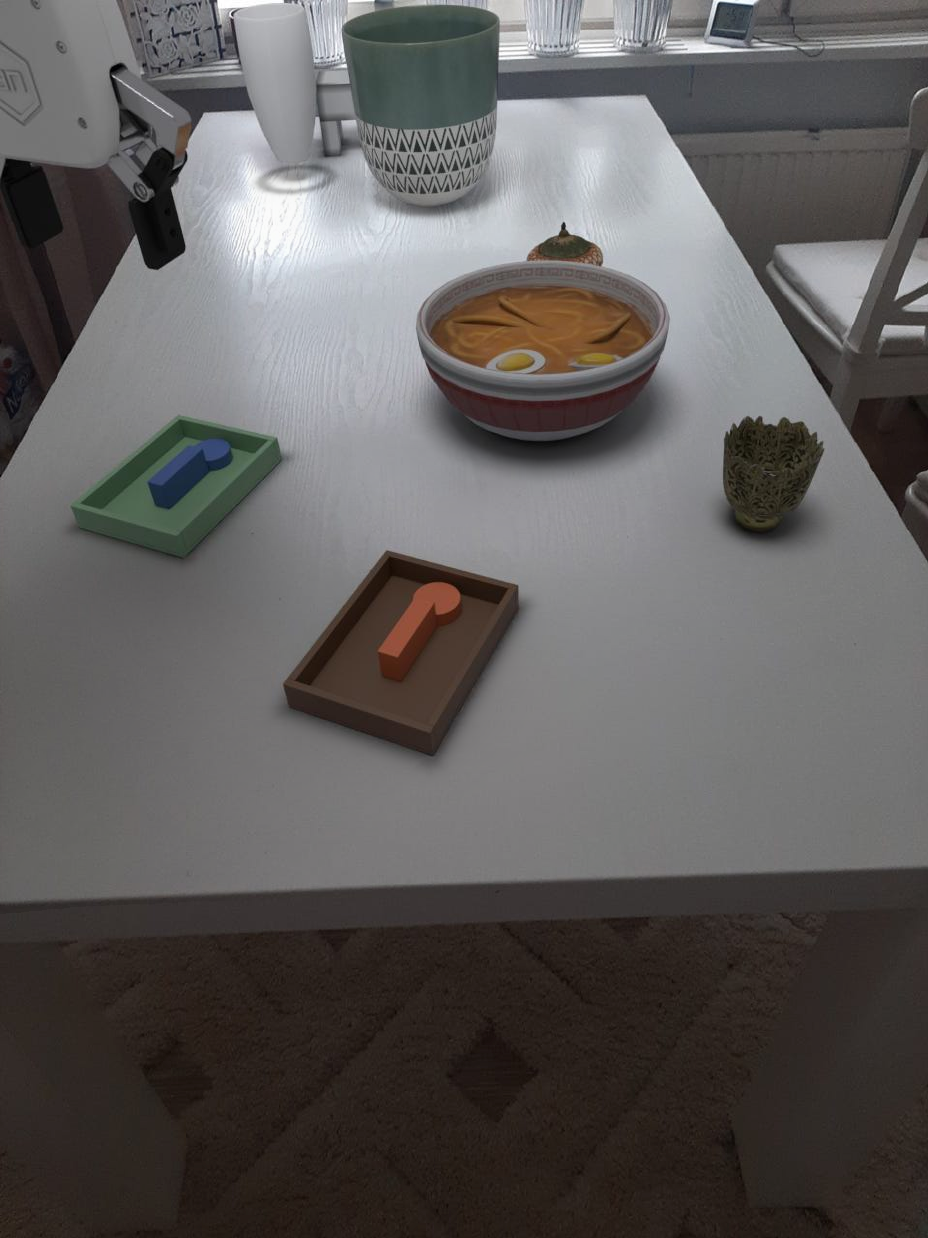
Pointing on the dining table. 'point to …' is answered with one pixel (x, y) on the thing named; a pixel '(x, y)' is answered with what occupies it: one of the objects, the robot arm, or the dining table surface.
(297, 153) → the cup
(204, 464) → the blue spoon
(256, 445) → the green tray
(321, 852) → the dining table surface
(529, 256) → the acorn
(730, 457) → the decorative vase
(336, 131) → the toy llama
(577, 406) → the bowl
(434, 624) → the terracotta spoon
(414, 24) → the planter
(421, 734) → the tray
